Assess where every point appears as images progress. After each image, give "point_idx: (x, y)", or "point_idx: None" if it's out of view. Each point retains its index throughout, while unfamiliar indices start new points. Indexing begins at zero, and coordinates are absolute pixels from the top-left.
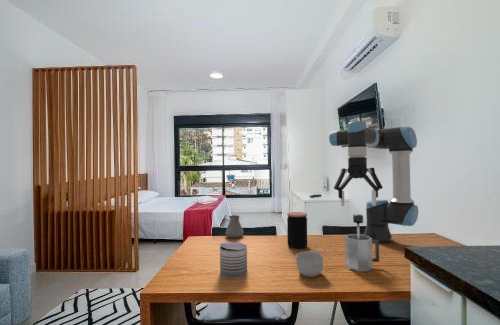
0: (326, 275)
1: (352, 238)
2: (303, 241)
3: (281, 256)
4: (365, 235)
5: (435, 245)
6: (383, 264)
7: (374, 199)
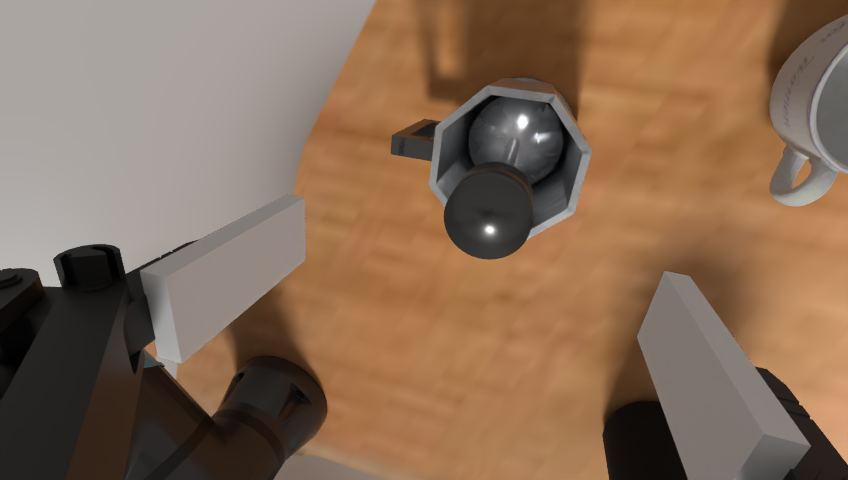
0: (750, 54)
1: None
2: (648, 425)
3: (824, 345)
4: (439, 197)
5: None
6: None
7: (259, 223)
